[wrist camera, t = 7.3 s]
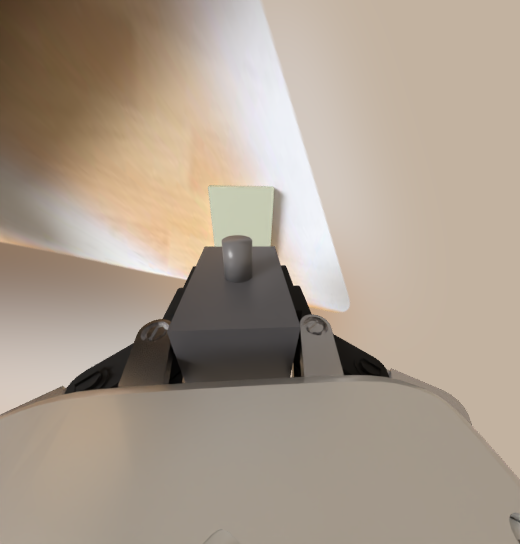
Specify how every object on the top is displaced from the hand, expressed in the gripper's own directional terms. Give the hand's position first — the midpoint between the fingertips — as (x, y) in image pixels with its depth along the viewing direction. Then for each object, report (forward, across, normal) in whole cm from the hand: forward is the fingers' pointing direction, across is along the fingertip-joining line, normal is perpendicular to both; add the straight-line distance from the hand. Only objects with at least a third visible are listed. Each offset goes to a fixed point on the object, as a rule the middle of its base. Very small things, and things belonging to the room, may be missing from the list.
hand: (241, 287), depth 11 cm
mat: (+13, 0, 0) cm, 13 cm away
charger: (+1, 0, 0) cm, 1 cm away
